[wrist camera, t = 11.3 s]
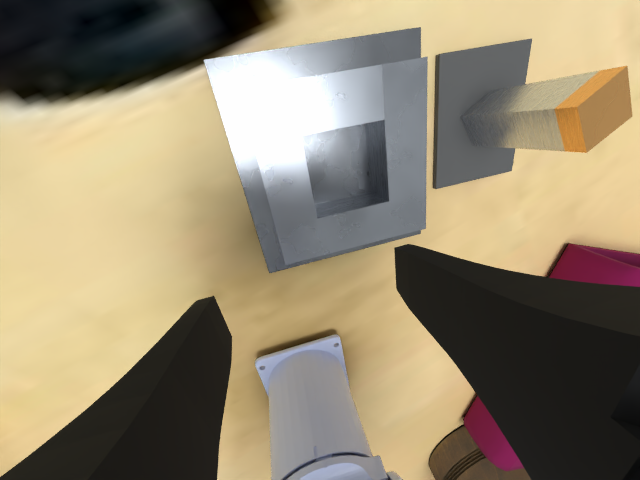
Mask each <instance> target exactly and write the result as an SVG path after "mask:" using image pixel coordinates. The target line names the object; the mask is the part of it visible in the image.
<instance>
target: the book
mask: <svg viewBox="0 0 640 480" xmlns="http://www.w3.org/2000/svg"><path fill="white" fill-rule="evenodd" d="M548 278H556V279H563V280H571V281H579V282H588V283H598V284H610V285H623V286H636V287H640V254H635V253H629V252H622V251H616V250H609V249H603V248H596V247H590V246H583V245H577V244H570V243H569V244H568V246H567V248H566V249H565V251H564V253H563V254H562V256H561V258H560V259H559V261H558V263H557V264H556V266H555V268H554V269H553V271H552V272H551V274H550V276H549V277H548ZM463 420H464V425H465V427H466V429H467V430H468V432H469V434H470V436H471V437H472V438H473V440H474V441H475V443H476V444H477V446H478V447H479V449H480V450H481V451H482V453H483V454H484V455H485V456H486V458H487V459H488V460H489V461H490V462H491V463H493V464H494V465H495V466H496V467H498V468H500V469H502V470H504V471H506V472H507V471H512V470H517V469H522V468H524V467H523V465H522V463H521V462H520V460H519V458H518V457H517V455H516V454H515V452H514V450H513V449H512V447H511V446H510V444H509V443H508V441H507V439H506V438H505V436H504V435H503V433H502V432H501V430H500V428H499V427H498V425H497V424H496V422H495V421H494V419H493V418H492V416H491V415H490V413H489V412H488V410H487V409H486V407H485V406H484V404H483V403H482V401H481V400H480V398H479V397H478V395H477V397H476V399H475V400H474V402H473V404H472V405H471V407H470V409H469V410H468V412H467V414H466V415H465V417H464V419H463Z"/></svg>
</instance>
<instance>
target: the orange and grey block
mask: <svg viewBox="0 0 640 480" xmlns="http://www.w3.org/2000/svg"><path fill="white" fill-rule="evenodd" d="M631 117H632V108H631V98H630V88H629V78H628V68H627V66H623V67H618V68H612V69H607V70H601V71H596V72H590V73H585V74H580V75H574V76H569V77H563V78H558V79H552V80H547V81H541V82H536V83H530V84H525V85H519V86H514V87H509V88H503V89H498V90H492V91H489V92H487V93H486V94H485V95H484V96H483V97H482V98H481V99H479V100H478V101H477V102H476V103H475V104H474V105H473V106H471V107H470V108H469V109H468V110H467V111H466V112H464V113H463V114H462V115H461V116H460V118H461V120H462V123H463V125H464V127H465V129H466V132H467V134H468V136H469V138H470V141H471V143H472V145H473V146H486V147H503V148H519V149H536V150H552V151H569V152H585V153H587V152H588V151H589V150H591V149H592V148H593V147H594V146H596V145H597V144H598V143H599V142H601V141H602V140H603V139H604V138H606V137H607V136H608V135H609V134H611V133H612V132H613V131H614V130H616V129H617V128H618V127H619V126H621V125H622V124H623V123H624V122H626V121H627V120H628V119H629V118H631Z"/></svg>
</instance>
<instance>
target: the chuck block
mask: <svg viewBox="0 0 640 480" xmlns="http://www.w3.org/2000/svg"><path fill="white" fill-rule="evenodd" d="M204 63H205V66H206V69H207V72H208V76H209V79H210V82H211V85H212V89H213V92H214V95H215V98H216V102H217V105H218V108H219V111H220V115H221V118H222V121H223V124H224V127H225V131H226V134H227V137H228V140H229V144H230V147H231V150H232V153H233V157H234V160H235V163H236V166H237V170H238V173H239V176H240V179H241V183H242V186H243V189H244V192H245V196H246V199H247V202H248V205H249V209H250V212H251V215H252V218H253V222H254V225H255V228H256V231H257V235H258V238H259V241H260V244H261V248H262V251H263V254H264V257H265V261H266V264H267V267H268V270H269V273H272V272H276V271H280V270H284V269H288V268H291V267H295V266H299V265H303V264H307V263H310V262H314V261H318V260H322V259H326V258H330V257H333V256H337V255H341V254H345V253H349V252H352V251H356V250H360V249H364V248H368V247H371V246H375V245H379V244H383V243H387V242H390V241H394V240H398V239H402V238H406V237H410V236H413V235H417V234H421V230H422V229H426V146H427V57H423V58H421V27H419V28H412V29H405V30H399V31H392V32H385V33H379V34H372V35H366V36H359V37H352V38H346V39H339V40H332V41H326V42H319V43H313V44H306V45H299V46H293V47H286V48H279V49H273V50H266V51H260V52H253V53H246V54H240V55H233V56H226V57H220V58H213V59H206V60H204Z"/></svg>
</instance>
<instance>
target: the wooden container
mask: <svg viewBox="0 0 640 480" xmlns="http://www.w3.org/2000/svg"><path fill="white" fill-rule="evenodd" d="M429 466H430V469H431V471H432V473H433V475H434V477H435V479H436V480H531V478H530V477H529V475H528V473H527V472H526V470H525V468H522V469H517V470H512V471H507V472H506V471H504V470H502V469H500V468H498V467H496V466H495V465H494V464H493V463H491V462H490V461H489V460H488V459H487V458H486V456H485V455H484V454H483V453H482V451H481V450H480V449H479V447H478V446H477V444H476V443H475V441H474V440H473V438H472V437H471V436H470V434H469V432H468V430H467V429H466V427H465V425H464V426H462V427H460V428H458V429H457V430H455V431H454V432H452V433H451V434H450V435H448V436H447V437H446V438H445V439H444V440H443V441H442V442H441V443H440V444H439V445H438V446H437V447H436V449H435V450H434V452H433V453H432V455H431V457H430V460H429Z"/></svg>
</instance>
